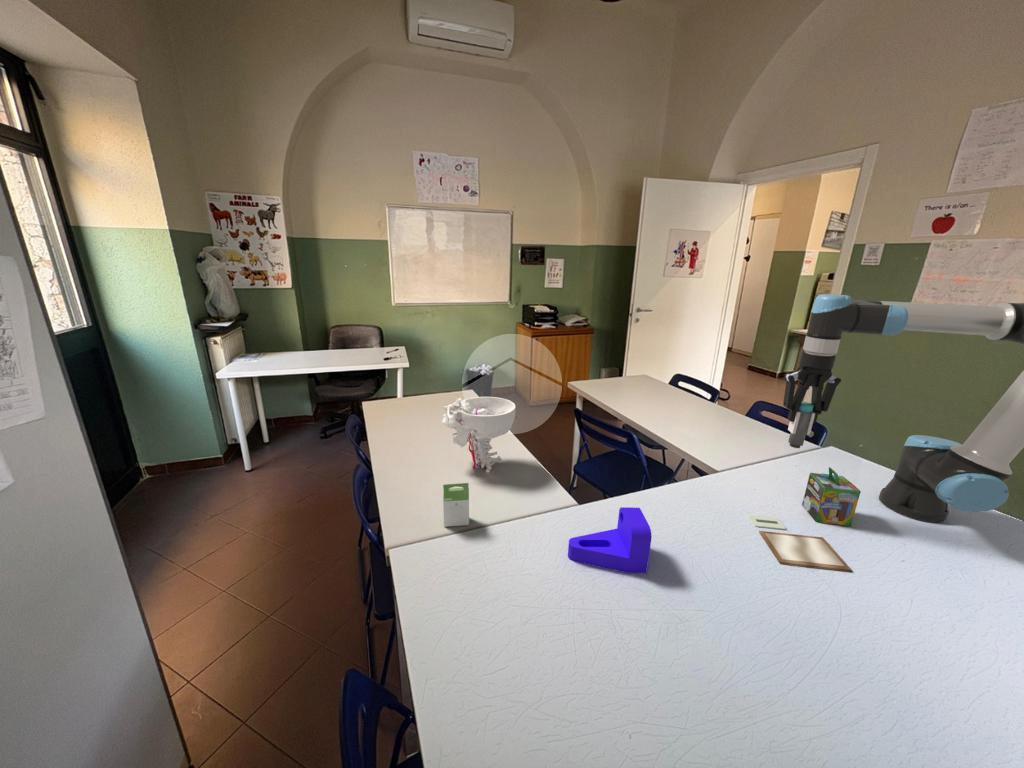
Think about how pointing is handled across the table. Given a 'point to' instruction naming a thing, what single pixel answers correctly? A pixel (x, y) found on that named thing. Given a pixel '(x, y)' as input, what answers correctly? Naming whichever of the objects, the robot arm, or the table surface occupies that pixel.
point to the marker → (801, 425)
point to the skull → (479, 425)
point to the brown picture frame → (804, 551)
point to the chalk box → (830, 498)
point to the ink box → (456, 504)
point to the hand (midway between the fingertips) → (798, 432)
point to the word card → (766, 522)
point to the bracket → (616, 544)
